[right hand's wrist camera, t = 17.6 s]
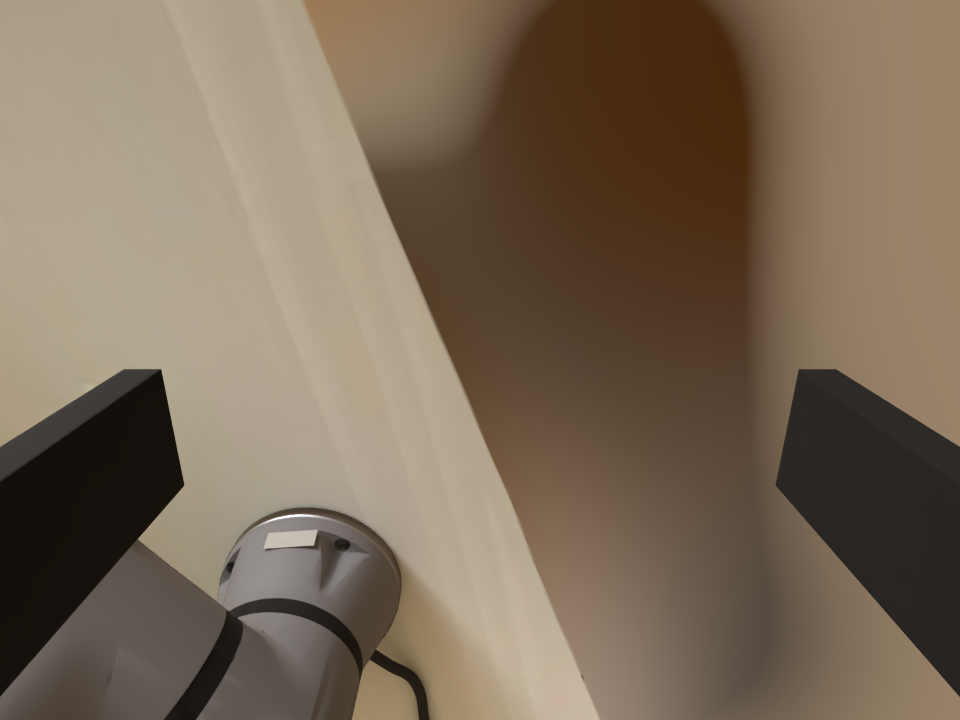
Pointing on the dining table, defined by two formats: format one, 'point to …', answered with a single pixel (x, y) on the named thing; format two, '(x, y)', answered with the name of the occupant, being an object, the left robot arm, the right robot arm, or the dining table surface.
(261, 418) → the dining table surface
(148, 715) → the right robot arm
